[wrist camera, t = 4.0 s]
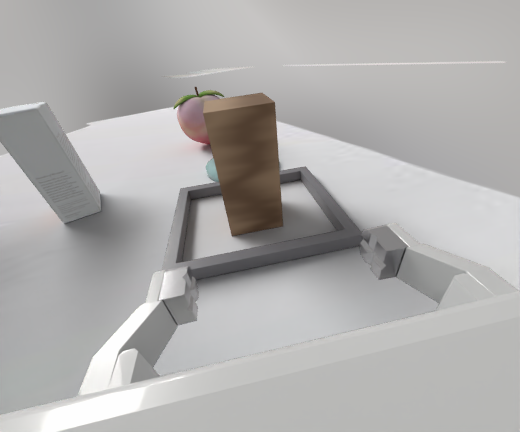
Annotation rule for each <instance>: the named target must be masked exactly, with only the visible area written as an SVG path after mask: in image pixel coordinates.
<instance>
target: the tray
mask: <svg viewBox="0 0 520 432" xmlns="http://www.w3.org/2000/svg"><path fill="white" fill-rule="evenodd" d="M279 173H280V183H284V182H290V181H295V180H301V181H302V182H303V184H304V185H305V186H306V188H307V189H308V191H309V192H310V193H311V195H312V196H313V198H314V199H315V200H316V202H317V203H318V204H319V206H320V207H321V209H322V210H323V211H324V213H325V214H326V216H327V217H328V218H329V220H330V221H331V223H332V224H333V225H334V227H335V228H336V230H337V231H334V232H329V233H324V234H319V235H314V236H309V237H304V238H299V239H294V240H289V241H284V242H279V243H275V244H270V245H265V246H260V247H255V248H250V249H245V250H240V251H235V252H230V253H225V254H220V255H215V256H210V257H205V258H200V259H195V260H190V261H185V262H182V258H183V251H184V244H185V237H186V230H187V222H188V215H189V208H190V201H191V199H196V198H202V197H207V196H213V195H218V194H222V192H221V188H220V183H219V182H215V183H209V184H204V185H198V186H192V187H187V188H181V189H180V193H179V197H178V201H177V206H176V210H175V215H174V219H173V223H172V228H171V232H170V236H169V241H168V245H167V250H166V254H165V258H164V263H163V267H162V271H164V270H168V269H173V268H179V267H184V266H190V267H191V269H192V276H193V277H195V279H196V280H197V279H202V278H207V277H212V276H217V275H221V274H226V273H231V272H236V271H241V270H245V269H250V268H255V267H260V266H265V265H269V264H274V263H279V262H284V261H289V260H293V259H298V258H303V257H308V256H313V255H318V254H322V253H327V252H332V251H337V250H342V249H346V248H351V247H356V246H360V243H361V241H362V236H361V235H362V232H361V231H360V230H359V229H358V228H357V226H356V225H355V224H354V223H353V222H352V221H351V219H350V218H349V217H348V216H347V215H346V213H345V212H344V211H343V210H342V209H341V208H340V206H339V205H338V204H337V203H336V202H335V201H334V199H333V198H332V197H331V196H330V195H329V193H328V192H327V191H326V190H325V189H324V188H323V186H322V185H321V184H320V183H319V182H318V180H317V179H316V178H315V177H314V176H313V175H312V173H311V172H310V171H309V170H308V169H307V167H306V166H305V167H300V168H294V169H288V170H283V171H279Z"/></svg>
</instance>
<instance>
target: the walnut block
mask: <svg viewBox="0 0 520 432" xmlns="http://www.w3.org/2000/svg"><path fill="white" fill-rule="evenodd" d="M275 113H276V112H275V102H274V101H272V100H271V99H270V98H269V97H267V96H266V95H264V94H263V93H257V94H251V95H244V96H238V97H230V98H224V99H217V100H210V101H205V102H204V109H203V116H204V120H205V124H206V128H207V133H208V137H209V141H210V145H211V149H212V154H213V158H214V162H215V166H216V171H217V175H218V179H219V183H220V188H221V192H222V196H223V200H224V205H225V209H226V213H227V217H228V222H229V226H230V230H231V234H232V236H235V235H240V234H245V233H250V232H255V231H261V230H266V229H271V228H276V227H281V226H283V219H282V203H281V188H280V173H279V158H278V143H277V128H276V114H275Z"/></svg>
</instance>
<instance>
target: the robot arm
mask: <svg viewBox="0 0 520 432" xmlns="http://www.w3.org/2000/svg"><path fill="white" fill-rule="evenodd" d="M361 236H362V238H363V240H362V241H361V243H360V247H359V249H360V254H361V256H362V258H363V260H364V261H365V262H366V263H368V264H370V265H371V270H372V272H373V273H374V274H375V276H376V277H377V278H378V280H381V279H386V278H392V277H397V278H398V279H400V280H402V281H403V282H405V283H406V284H408V285H410V286H411V287H413V288H415V289H416V290H418V291H420V292H421V293H423V294H425V295H426V296H428V297H430V298H431V299H433V300H435V301H436V302H438V303H439V305H438V307H437V309H436V310H435V311H433V312H428V313H424V314H420V315H416V316H412V317H407V318H403V319H399V320H395V321H391V322H387V323H382V324H378V325H374V326H370V327H366V328H361V329H357V330H353V331H349V332H345V333H340V334H336V335H332V336H328V337H324V338H320V339H315V340H311V341H307V342H303V343H299V344H295V345H290V346H286V347H282V348H278V349H274V350H269V351H265V352H261V353H257V354H253V355H249V356H244V357H240V358H236V359H232V360H228V361H223V362H219V363H215V364H211V365H207V366H202V367H198V368H194V369H190V370H186V371H181V372H177V373H173V374H169V375H165V376H159V375H158V374H157V372H156V371H155V370H154V369H153V367H154V365H155V363H156V362H157V360H158V358H159V357H160V355H161V353H162V352H163V350H164V348H165V347H166V345H167V343H168V342H169V340H170V339H171V337H172V335H173V334H174V332H175V330H176V329H177V326H178V325H182V324H186V323H190V322H194V321H197V312H198V306H197V304H196V301H197V299H198V293H199V292H198V285H197V281H196V279H195V277H193V276H192V269H191V267H190V266H184V267H179V268H173V269H168V270H164V271H158V272H155V273H154V274H153V275H152V279H151V283H150V286H149V290H148V294H147V297H146V301H145V304H142V305H140V306H139V308H138V309H137V310H136V311H135V312H134V313H133V314H132V315H131V316H130V317H129V318H128V319H127V321H126V322H125V323H124V324H123V325H122V326H121V327H120V328H119V329H118V330H117V331H116V332H115V334H114V335H113V336H112V337H111V338H110V339H109V340H108V341H107V342H106V343H105V344H104V345H103V346H102V348H101V349H100V350H99V351H98V352H97V353H96V354H95V355H94V356H93V358H92V360H91V363H90V365H89V368H88V370H87V373H86V375H85V378H84V380H83V383H82V385H81V388H80V391H79V393H78V396H76V397H72V398H68V399H64V400H59V401H55V402H51V403H47V404H43V405H38V406H34V407H30V408H26V409H22V410H17V411H13V412H9V413H5V414H1V415H0V432H520V291H519V290H517V289H516V288H515V287H513V286H512V285H511V284H510V283H508V282H507V281H506V280H504V279H503V278H502V277H500V276H499V275H498V274H496V273H495V272H494V271H493V270H491V269H490V268H489V267H486V266H484V265H481V264H478V263H475V262H473V261H470V260H467V259H464V258H462V257H459V256H456V255H453V254H451V253H448V252H445V251H442V250H440V249H437V248H434V247H431V246H429V245H426V244H420V243H419V242H418V241H416V240H415V239H414V238H413V237H412V236H411V235H410V234H409V233H407V232H406V231H405V230H404V229H403V228H402V227H401V226H400V225H398V224H397V223H391V224H386V225H382V226H377V227H373V228H368V229H364V230H363V231H362V235H361Z"/></svg>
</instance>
